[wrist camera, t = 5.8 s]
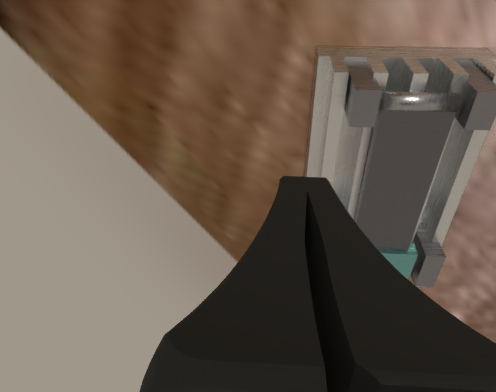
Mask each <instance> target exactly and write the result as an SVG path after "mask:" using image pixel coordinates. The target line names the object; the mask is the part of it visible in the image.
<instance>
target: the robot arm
mask: <svg viewBox="0 0 496 392" xmlns="http://www.w3.org/2000/svg"><path fill="white" fill-rule="evenodd" d="M140 392H496V344H495V343H494V342H492V341H491V340H489V339H488V338H486V337H484V336H483V335H481V334H480V333H478V332H477V331H475V330H473V329H472V328H470V327H469V326H467V325H466V324H464V323H463V322H461V321H460V320H459V319H457V318H456V317H455V316H453V315H452V314H450V313H449V312H448V311H446V310H445V309H443V308H442V307H441V306H439V305H438V304H437V303H436V302H434V301H433V300H432V299H430V298H429V297H428V296H427V295H426V294H424V293H423V292H422V291H421V290H420V289H418V288H417V287H416V286H415V285H414V284H412V283H411V282H410V281H409V280H408V279H407V278H405V277H404V276H403V275H402V274H401V273H400V272H399V271H398V270H397V269H396V268H395V267H394V266H393V265H392V264H391V263H390V262H389V261H388V260H387V259H386V258H385V257H384V256H383V255H382V254H381V253H380V252H379V250H378V249H377V248H376V247H375V246H374V245H373V244H372V242H371V241H370V240H369V239H368V238H367V236H366V235H365V234H364V233H363V231H362V230H361V229H360V228H359V226H358V225H357V224H356V222H355V221H354V219H353V218H352V217H351V215H350V214H349V213H348V211H347V210H346V208H345V207H344V205H343V204H342V202H341V201H340V199H339V197H338V196H337V194H336V193H335V191H334V189H333V187H332V186H331V184H330V182H329V181H328V179H327V178H324V177H292V176H283V177H282V178H281V179H280V183H279V188H278V192H277V195H276V197H275V200H274V203H273V205H272V207H271V209H270V211H269V213H268V216H267V218H266V220H265V222H264V223H263V225H262V227H261V229H260V230H259V232H258V234H257V235H256V237H255V239H254V240H253V242H252V244H251V245H250V247H249V248H248V250H247V251H246V252H245V254H244V255H243V257H242V258H241V259H240V261H239V262H238V263H237V265H236V266H235V267H234V268H233V269H232V271H231V272H230V273H229V274H228V276H227V277H226V278H225V279H224V280H223V281H222V282H221V284H220V285H219V286H218V287H217V288H216V289H215V290H214V291H213V292H212V293H211V294H210V295H209V296H208V297H207V298H206V299H205V300H204V301H203V302H202V303H201V304H200V305H199V306H198V307H197V308H196V309H195V310H193V312H191V313H190V314H189V315H188V316H187V317H185V318H184V319H183V320H182V321H181V322H179V323H178V324H177V325H176V326H175V327H174V328H172V329H171V330H170V331H169V332H167V333H166V334H165V335H164V337H163V339H162V340H161V342H160V344H159V346H158V348H157V350H156V351H155V354H154V356H153V358H152V360H151V362H150V364H149V366H148V369H147V371H146V374H145V376H144V379H143V382H142V385H141V389H140Z"/></svg>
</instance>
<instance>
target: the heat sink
mask: <svg viewBox="0 0 496 392" xmlns="http://www.w3.org/2000/svg"><path fill="white" fill-rule="evenodd" d="M382 91H395V92H447V93H459V94H460V98H461V101H460V106H459V109H458V111H457V112H456V114H455V117H454V120H453V123H452V126H451V129H450V132H449V134H448V137H447V140H446V143H445V146H444V149H443V152H442V154H441V157H440V160H439V163H438V166H437V169H436V172H435V174H434V177H433V180H432V183H431V186H430V189H429V192H428V194H427V197H426V200H425V203H424V206H423V209H422V212H421V214H420V217H419V220H418V223H417V226H416V229H415V232H414V234H413V237H412V240H411V243H410V244H414V245H415V248H416V251H417V254H418V256H417V259H416V261H415V264H414V267H413V269H412V272H411V276H412V279H413V282H414V285H415V286H418V287H433V286H434V284H435V281H436V279H437V277H438V274H439V272H440V270H441V267H442V265H443V262H444V260H445V258H446V256H445V254H444V252H443V250H442V247H441V246H442V244H443V241H444V239H445V236H446V234H447V231H448V229H449V226H450V224H451V221H452V219H453V216H454V214H455V211H456V209H457V206H458V204H459V201H460V199H461V197H462V194H463V192H464V189H465V187H466V184H467V182H468V179H469V177H470V174H471V172H472V169H473V167H474V164H475V162H476V159H477V157H478V154H479V152H480V149H481V147H482V145H483V142H484V140H485V137H486V135H487V132H488V130H490V128H491V126H492V123H493V121H494V118H495V116H496V54H494V53H493V52H492V51H491V50H489V49H488V48H430V47H351V46H316V55H315V65H314V76H313V87H312V97H311V108H310V118H309V129H308V139H307V150H306V160H305V171H304V177H324V178H327V179H328V181H329V182H330V184H331V186H332V187H333V189H334V191H335V193H336V194H337V196H338V197H339V199H340V201H341V202H342V204H343V205H344V207H345V208H346V210H347V211H348V213H349V214H350V215H351V217H352V218H353V219H354V218H355V213H356V209H357V204H358V199H359V195H360V190H361V185H362V181H363V176H364V171H365V167H366V162H367V157H368V152H369V148H370V143H371V138H372V134H373V129H374V125H375V121H376V116H377V111H378V106H379V101H380V96H381V92H382Z"/></svg>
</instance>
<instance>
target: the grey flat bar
mask: <svg viewBox="0 0 496 392" xmlns="http://www.w3.org/2000/svg"><path fill="white" fill-rule="evenodd" d="M460 101H461V98H460V94H459V93H447V92H395V91H382V92H381V96H380V101H379V106H378V111H377V116H376V121H375V125H374V129H373V134H372V138H371V143H370V148H369V152H368V157H367V162H366V167H365V171H364V176H363V181H362V185H361V190H360V195H359V199H358V204H357V209H356V213H355V218H354V221H355V222H356V224H357V225H358V226H359V228H360V229H361V230H362V231H363V233H364V234H365V235H366V236H367V238H368V239H369V240H370V241H371V242H372V244H373V245H374V246H375V247H376V248H377V249H378V250H379V252H380V253H381V254H382V255H383V256H384V257H385V258H386V259H387V260H388V261H389V262H390V263H391V264H392V265H393V266H394V267H395V268H396V269H397V270H398V271H399V272H400V273H401V274H402V275H403V276H404V277H405V278H407V279H409V277H410V275H411V272H412V269H413V267H414V264H415V261H416V259H417V256H418V254H417V251H416V248H415V245H414V244H410V243H411V240H412V237H413V234H414V232H415V229H416V226H417V223H418V220H419V217H420V214H421V212H422V209H423V206H424V203H425V200H426V197H427V194H428V192H429V189H430V186H431V183H432V180H433V177H434V174H435V172H436V169H437V166H438V163H439V160H440V157H441V154H442V152H443V149H444V146H445V143H446V140H447V137H448V134H449V132H450V129H451V126H452V123H453V120H454V117H455V114H456V112H457V111H458V109H459V106H460Z"/></svg>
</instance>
